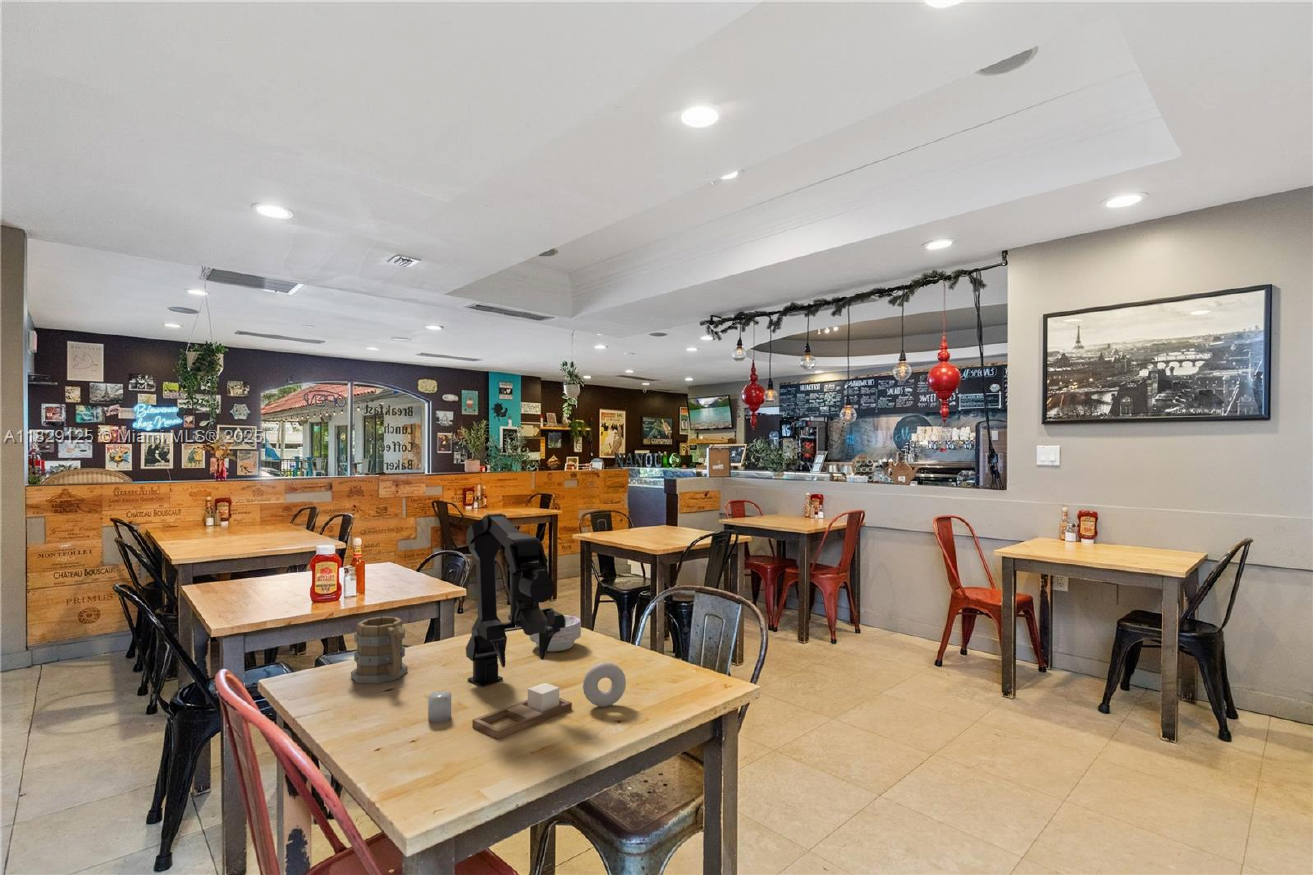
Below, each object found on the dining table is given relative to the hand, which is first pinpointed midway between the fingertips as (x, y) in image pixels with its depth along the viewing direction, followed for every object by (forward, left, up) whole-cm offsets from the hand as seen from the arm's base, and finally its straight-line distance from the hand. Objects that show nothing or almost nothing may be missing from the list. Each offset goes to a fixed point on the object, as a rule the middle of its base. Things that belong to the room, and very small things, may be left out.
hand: (522, 663), depth 146 cm
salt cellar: (-11, -14, -11) cm, 21 cm away
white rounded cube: (+3, +3, -11) cm, 12 cm away
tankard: (-44, -10, -11) cm, 46 cm away
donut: (+12, +14, -11) cm, 21 cm away
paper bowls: (-31, +36, -11) cm, 49 cm away
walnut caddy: (+3, -2, -11) cm, 11 cm away
